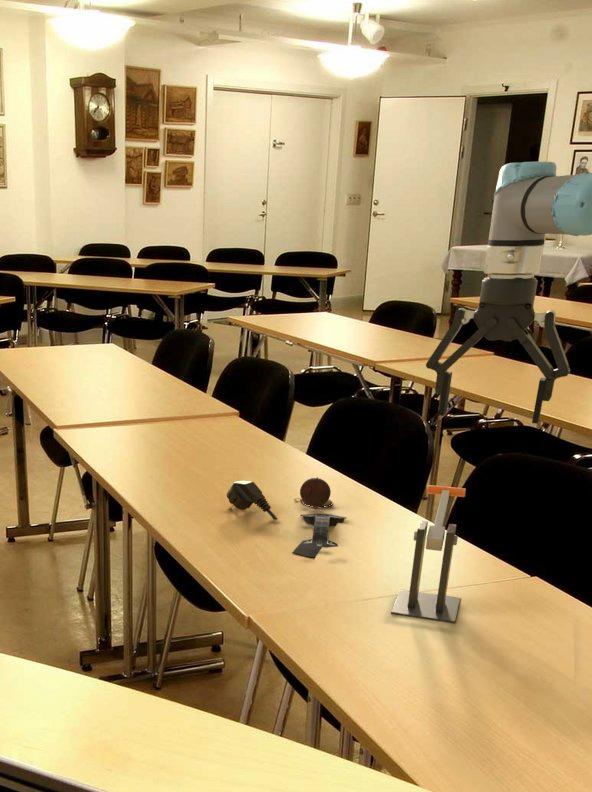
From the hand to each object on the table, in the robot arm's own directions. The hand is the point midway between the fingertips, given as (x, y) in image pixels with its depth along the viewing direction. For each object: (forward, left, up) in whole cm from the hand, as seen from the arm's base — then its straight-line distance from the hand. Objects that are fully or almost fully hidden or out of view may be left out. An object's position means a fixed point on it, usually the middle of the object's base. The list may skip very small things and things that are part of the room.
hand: (487, 418), depth 144 cm
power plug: (+42, -20, -27) cm, 54 cm away
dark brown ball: (+32, -30, -27) cm, 52 cm away
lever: (+4, +13, -14) cm, 20 cm away
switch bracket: (+4, +19, -27) cm, 33 cm away
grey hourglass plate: (+26, -10, -27) cm, 39 cm away
